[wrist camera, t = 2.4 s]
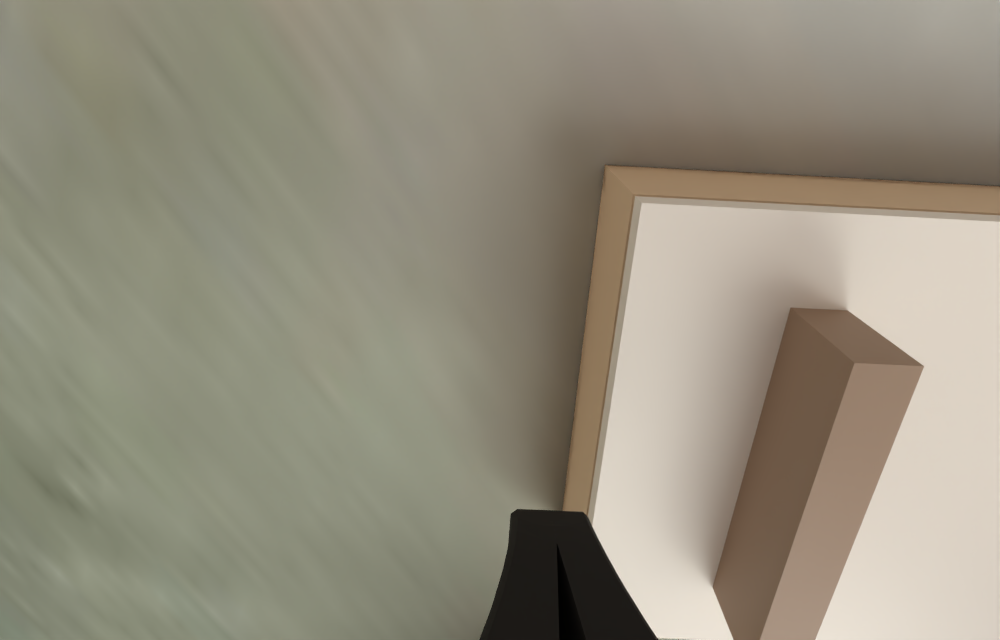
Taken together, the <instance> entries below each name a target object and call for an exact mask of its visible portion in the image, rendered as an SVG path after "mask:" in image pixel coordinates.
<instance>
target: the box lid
mask: <svg viewBox="0 0 1000 640" xmlns="http://www.w3.org/2000/svg"><path fill="white" fill-rule="evenodd" d="M588 518H589V520H590V522H591V525H592V527H593V529H594V531H595V533H596V535H597V537H598V539H599V541H600V543H601V545H602V547H603V549H604V551H605V553H606V554H607V556H608V558H609V560H610V562H611V564H612V565H613V567H614V569H615V571H616V573H617V574H618V576H619V578H620V579H621V581H622V583H623V585H624V586H625V588H626V590H627V591H628V593H629V594H630V596H631V598H632V599H633V601H634V603H635V604H636V606H637V607H638V609H639V611H640V612H641V614H642V615H643V617H644V619H645V620H646V622H647V623H648V625H649V626H650V628H651V629H652V631H653V632H654V634H655V635H656V637H657V638H667V639H695V640H1000V215H983V214H964V213H945V212H926V211H907V210H889V209H870V208H851V207H832V206H813V205H794V204H775V203H756V202H737V201H718V200H699V199H680V198H661V197H642V196H635V200H634V207H633V214H632V221H631V227H630V234H629V241H628V248H627V255H626V261H625V268H624V275H623V282H622V288H621V295H620V302H619V309H618V316H617V322H616V329H615V336H614V343H613V349H612V356H611V363H610V370H609V377H608V383H607V390H606V397H605V404H604V410H603V417H602V424H601V431H600V438H599V444H598V451H597V458H596V465H595V471H594V478H593V485H592V492H591V499H590V505H589V512H588Z"/></svg>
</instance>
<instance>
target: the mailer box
mask: <svg viewBox="0 0 1000 640" xmlns="http://www.w3.org/2000/svg"><path fill="white" fill-rule="evenodd" d="M635 196H642V197H661V198H680V199H699V200H718V201H737V202H756V203H775V204H794V205H813V206H832V207H851V208H870V209H889V210H907V211H926V212H945V213H964V214H983V215H1000V186H987V185H968V184H950V183H931V182H912V181H894V180H875V179H857V178H838V177H819V176H801V175H782V174H764V173H745V172H727V171H708V170H689V169H671V168H652V167H634V166H615V165H605V169H604V177H603V185H602V193H601V201H600V209H599V217H598V225H597V233H596V242H595V250H594V258H593V266H592V274H591V282H590V290H589V298H588V306H587V314H586V322H585V331H584V339H583V347H582V355H581V363H580V371H579V379H578V387H577V395H576V403H575V411H574V419H573V428H572V436H571V444H570V452H569V460H568V468H567V476H566V484H565V492H564V500H563V508H562V511H577V512H584V513H585V514H586V515H587V516H588V512H589V505H590V499H591V492H592V485H593V478H594V471H595V465H596V458H597V451H598V444H599V438H600V431H601V424H602V417H603V410H604V404H605V397H606V390H607V383H608V377H609V370H610V363H611V356H612V349H613V343H614V336H615V329H616V322H617V316H618V309H619V302H620V295H621V288H622V282H623V275H624V268H625V261H626V255H627V248H628V241H629V234H630V227H631V221H632V214H633V207H634V200H635Z"/></svg>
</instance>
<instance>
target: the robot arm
mask: <svg viewBox="0 0 1000 640" xmlns="http://www.w3.org/2000/svg"><path fill="white" fill-rule="evenodd" d="M480 640H658V638H657V637H656V635H655V634H654V632H653V631H652V629H651V628H650V626H649V625H648V623H647V622H646V620H645V619H644V617H643V615H642V614H641V612H640V611H639V609H638V607H637V606H636V604H635V603H634V601H633V599H632V598H631V596H630V594H629V593H628V591H627V590H626V588H625V586H624V585H623V583H622V581H621V579H620V578H619V576H618V574H617V573H616V571H615V569H614V567H613V565H612V564H611V562H610V560H609V558H608V556H607V554H606V553H605V551H604V549H603V547H602V545H601V543H600V541H599V539H598V537H597V535H596V533H595V531H594V529H593V527H592V525H591V522H590V520H589V518H588V516H587V515H586V514H585V513H584V512H577V511H551V510H525V509H517V510H516V511H514V512H513V513H511V518H510V531H509V543H508V550H507V555H506V559H505V563H504V568H503V571H502V575H501V578H500V581H499V585H498V588H497V591H496V595H495V598H494V601H493V605H492V608H491V610H490V613H489V616H488V619H487V621H486V624H485V627H484V629H483V632H482V635H481V637H480Z"/></svg>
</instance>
